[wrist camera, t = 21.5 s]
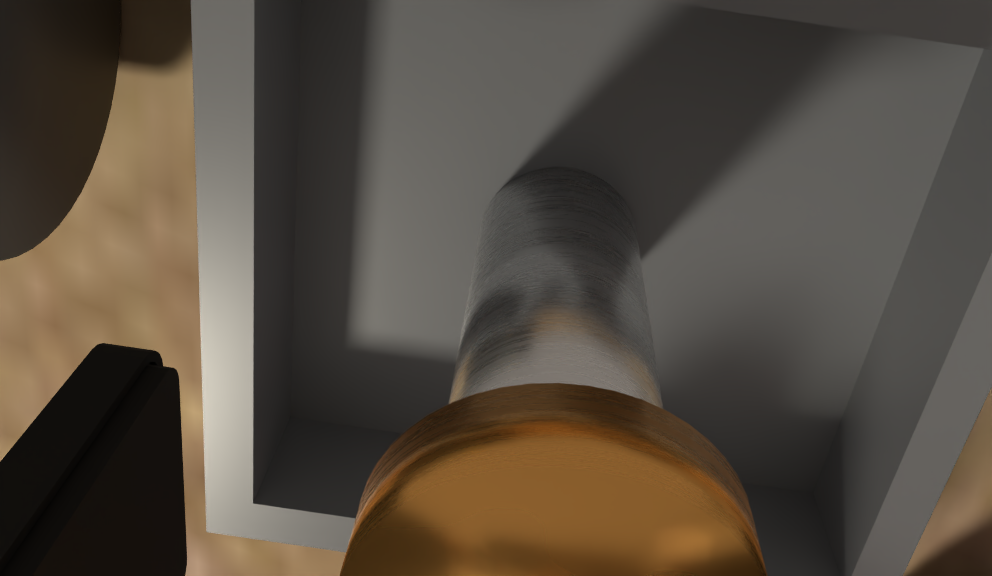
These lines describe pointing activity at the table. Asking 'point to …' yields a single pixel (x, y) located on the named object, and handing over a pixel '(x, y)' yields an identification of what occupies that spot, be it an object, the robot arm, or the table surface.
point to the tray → (659, 225)
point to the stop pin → (554, 420)
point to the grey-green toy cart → (51, 109)
